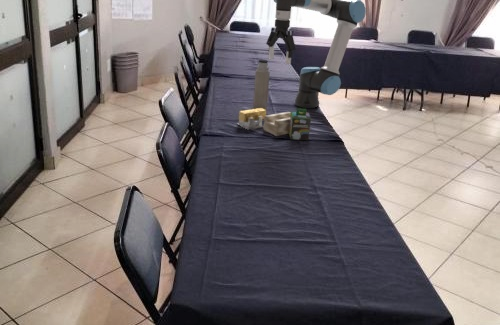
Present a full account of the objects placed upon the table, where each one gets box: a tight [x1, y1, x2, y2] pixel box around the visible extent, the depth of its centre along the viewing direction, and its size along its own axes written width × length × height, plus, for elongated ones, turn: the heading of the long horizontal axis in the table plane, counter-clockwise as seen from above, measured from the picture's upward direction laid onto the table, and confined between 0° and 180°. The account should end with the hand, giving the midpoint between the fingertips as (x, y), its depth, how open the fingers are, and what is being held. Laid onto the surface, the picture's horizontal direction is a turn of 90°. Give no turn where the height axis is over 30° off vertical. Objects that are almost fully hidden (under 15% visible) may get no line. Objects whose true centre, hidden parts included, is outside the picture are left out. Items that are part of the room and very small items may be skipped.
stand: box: [236, 116, 264, 131], centre depth 230 cm, size 10×9×6 cm
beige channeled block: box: [263, 111, 291, 137], centre depth 227 cm, size 16×10×8 cm, turn 127°
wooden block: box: [238, 108, 267, 122], centre depth 230 cm, size 14×4×4 cm, turn 127°
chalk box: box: [288, 108, 312, 141], centre depth 218 cm, size 9×9×15 cm
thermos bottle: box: [252, 59, 271, 111], centre depth 257 cm, size 8×8×28 cm
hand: (279, 61), depth 234 cm, fingers open, 13 cm apart
